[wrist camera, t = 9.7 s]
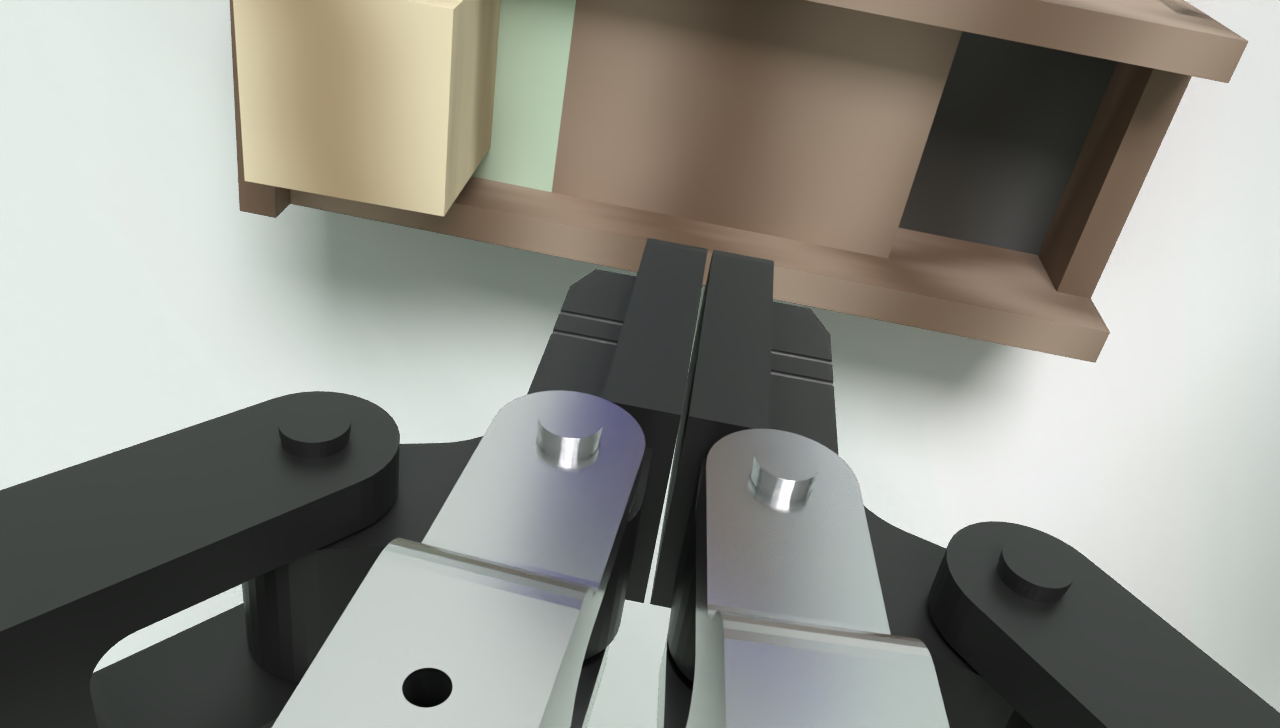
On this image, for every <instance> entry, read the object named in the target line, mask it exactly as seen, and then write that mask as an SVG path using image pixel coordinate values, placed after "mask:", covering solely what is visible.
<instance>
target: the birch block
mask: <svg viewBox="0 0 1280 728" xmlns="http://www.w3.org/2000/svg"><path fill="white" fill-rule="evenodd" d="M500 6H501V0H233V9H234V24H235V39H236V55H237V70H238V86H239V101H240V116H241V132H242V147H243V163H244V178H245V181H248V182H254V183H259V184H265V185H270V186H276V187H282V188H287V189H293V190H298V191H304V192H309V193H315V194H321V195H326V196H332V197H337V198H343V199H349V200H354V201H360V202H365V203H371V204H377V205H382V206H388V207H393V208H399V209H404V210H410V211H416V212H421V213H427V214H432V215H438V216H445V214H446V213H447V211H448V210H449V208H450V207H451V205H452V204H453V202H454V201H455V199H456V198H457V196H458V195H459V193H460V192H461V190H462V189H463V188H464V186H465V185H466V183H467V182H468V180H469V179H470V177H471V176H472V174H473V173H474V171H475V170H476V168H477V167H478V165H479V164H480V162H481V161H482V159H483V158H484V157H485V155H486V154H487V152H488V151H489V149H490V148H491V135H492V121H493V107H494V92H495V78H496V64H497V49H498V35H499V21H500Z"/></svg>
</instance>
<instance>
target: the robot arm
mask: <svg viewBox="0 0 1280 728" xmlns="http://www.w3.org/2000/svg"><path fill="white" fill-rule="evenodd" d="M707 251H708V249H707V248H701V247H696V246H690V245H685V244H679V243H674V242H669V241H663V240H658V239H652V238H647V241H646V245H645V248H644V252H643V255H642V259H641V263H640V266H639V270H638V273H637V277H634V276H629V275H623V274H618V273H613V272H607V271H602V270H595V271H593V272H592V273H590V274H589V275H587V276H585V277H584V278H582V279H581V280H579V281H578V282H576V283H575V284H573V285H572V286H570V289H569V291H568V294H567V296H566V299H565V301H564V304H563V306H562V309H561V314H559V316H558V319H557V321H556V324H555V326H554V329H553V334H551V336H550V339H549V341H548V344H547V346H546V349H545V351H544V354H543V356H542V359H541V361H540V364H539V366H538V369H537V371H536V374H535V376H534V379H533V381H532V384H531V386H530V389H529V391H528V394H527V395H525V396H522V397H520V398H517V399H515V400H513V401H511V402H510V403H508V404H506V405H505V406H504V407H503V408H502V409H501V410H500V411H499V412H498V413H497V415H496V416H495V417H494V419H493V421H492V422H491V424H490V426H489V428H488V429H487V431H486V433H485V435H484V436H482V437H478V438H474V439H471V440H465V441H459V442H451V443H427V444H400V434H399V430H398V426H397V425H396V423H395V421H394V420H393V418H392V417H391V416H390V415H389V414H388V413H387V412H386V411H385V410H383V409H382V408H381V407H379V406H378V405H376V404H374V403H372V402H370V401H368V400H365V399H362V398H360V397H357V396H353V395H348V394H344V393H336V392H319V391H314V392H301V393H295V394H289V395H285V396H281V397H278V398H274V399H271V400H268V401H265V402H262V403H259V404H256V405H253V406H250V407H247V408H244V409H241V410H238V411H235V412H232V413H229V414H227V415H224V416H221V417H218V418H215V419H212V420H209V421H206V422H203V423H200V424H197V425H194V426H191V427H188V428H185V429H182V430H179V431H176V432H173V433H170V434H167V435H164V436H161V437H158V438H155V439H152V440H149V441H146V442H143V443H140V444H137V445H134V446H131V447H128V448H125V449H122V450H119V451H116V452H113V453H110V454H107V455H105V456H102V457H99V458H96V459H93V460H90V461H87V462H84V463H81V464H78V465H75V466H72V467H69V468H66V469H63V470H60V471H57V472H54V473H51V474H48V475H45V476H42V477H39V478H36V479H33V480H30V481H27V482H24V483H21V484H18V485H15V486H12V487H9V488H6V489H3V490H0V728H587V725H588V721H589V718H590V715H591V711H592V708H593V705H594V701H595V698H596V695H597V691H598V688H599V685H600V681H601V678H602V675H603V672H604V668H605V665H606V659H607V654H608V648H609V644H610V643H611V642H612V640H613V639H614V637H615V636H616V634H617V632H618V629H619V626H620V622H621V617H622V612H623V606H624V601H625V599H626V600H631V601H636V602H641V603H644V599H645V594H646V589H647V584H648V579H649V574H650V569H651V564H652V559H653V554H654V549H655V544H656V539H657V534H658V529H659V524H660V519H661V514H662V509H663V504H664V499H665V494H666V489H667V484H668V479H669V474H670V469H671V464H672V459H673V454H674V459H673V465H672V472H671V478H670V484H669V490H668V497H667V503H666V509H665V515H664V521H663V528H662V534H661V540H660V546H659V553H658V559H657V565H656V571H655V577H654V584H653V590H652V596H651V602H650V604H653V605H658V606H663V607H668V608H671V615H670V622H669V629H668V635H667V639H666V644H665V648H664V653H663V657H662V662H661V666H660V672H659V688H658V712H657V728H1280V713H1279V712H1278V711H1276V710H1275V709H1274V708H1273V707H1272V706H1270V705H1269V704H1268V703H1267V702H1265V701H1264V700H1263V699H1262V698H1260V697H1259V696H1258V695H1257V694H1255V693H1254V692H1253V691H1252V690H1250V689H1249V688H1248V687H1247V686H1245V685H1244V684H1243V683H1242V682H1240V681H1239V680H1238V679H1237V678H1235V677H1234V676H1233V675H1232V674H1231V673H1229V672H1228V671H1227V670H1226V669H1224V668H1223V667H1222V666H1221V665H1219V664H1218V663H1217V662H1216V661H1214V660H1213V659H1212V658H1211V657H1209V656H1208V655H1207V654H1206V653H1204V652H1203V651H1202V650H1201V649H1199V648H1198V647H1197V646H1196V645H1194V644H1193V643H1192V642H1191V641H1189V640H1188V639H1187V638H1186V637H1185V636H1183V635H1182V634H1181V633H1180V632H1178V631H1177V630H1176V629H1175V628H1173V627H1172V626H1171V625H1170V624H1168V623H1167V622H1166V621H1165V620H1163V619H1162V618H1161V617H1160V616H1158V615H1157V614H1156V613H1155V612H1153V611H1152V610H1151V609H1150V608H1148V607H1147V606H1146V605H1145V604H1144V603H1142V602H1141V601H1140V600H1139V599H1137V598H1136V597H1135V596H1134V595H1132V594H1131V593H1130V592H1129V591H1127V590H1126V589H1125V588H1124V587H1122V586H1121V585H1120V584H1119V583H1117V582H1116V581H1115V580H1114V579H1112V578H1111V577H1110V576H1109V575H1107V574H1106V573H1105V572H1104V571H1103V570H1101V569H1100V568H1099V567H1098V566H1096V565H1095V564H1094V563H1093V562H1091V561H1090V560H1089V559H1088V558H1086V557H1085V556H1084V555H1082V554H1081V553H1080V552H1078V551H1077V550H1076V549H1074V548H1073V547H1071V546H1070V545H1068V544H1066V543H1064V542H1063V541H1061V540H1059V539H1057V538H1055V537H1053V536H1051V535H1049V534H1047V533H1044V532H1042V531H1039V530H1036V529H1033V528H1030V527H1027V526H1023V525H1019V524H1014V523H1007V522H992V521H991V522H981V523H976V524H972V525H969V526H967V527H965V528H963V529H961V530H959V531H958V532H957V533H956V534H955V535H954V536H953V537H952V539H951V540H950V542H949V544H948V546H947V549H946V548H943V547H941V546H939V545H936V544H934V543H931V542H929V541H927V540H924V539H922V538H919V537H917V536H915V535H912V534H910V533H907V532H905V531H903V530H901V529H899V528H897V527H895V526H892V525H891V524H889V523H887V522H886V521H884V520H882V519H881V518H879V517H878V516H876V515H875V514H874V513H872V512H871V511H869V510H868V509H867V508H866V507H865V506H864V505H863V501H862V496H861V491H860V486H859V483H858V480H857V478H856V476H855V474H854V473H853V471H852V469H851V468H850V467H849V466H848V465H847V463H846V462H845V461H844V460H843V459H842V458H840V457H839V456H838V443H837V429H836V414H835V400H834V387H833V386H832V384H833V371H832V365H831V361H832V356H831V342H830V334H829V333H828V331H827V330H826V329H825V327H824V326H823V325H822V323H821V322H820V321H819V319H818V318H817V317H816V315H815V314H814V313H813V311H812V310H811V309H808V308H802V307H797V306H791V305H786V304H781V303H775V302H773V278H774V261H773V260H767V259H762V258H756V257H751V256H745V255H740V254H735V253H729V252H724V251H718V250H713V252H712V257H711V261H710V266H709V271H708V276H707V281H706V286H705V291H704V296H703V301H702V306H701V311H700V316H699V321H698V326H697V331H696V336H695V341H694V346H693V351H692V345H693V339H694V332H695V326H696V320H697V314H698V307H699V301H700V295H701V289H702V282H703V276H704V270H705V264H706V257H707ZM691 351H692V356H691ZM690 357H691V361H690ZM689 364H690V366H689ZM688 370H689V371H688ZM687 376H688V377H687ZM676 439H677V440H676ZM675 444H676V447H675ZM674 449H675V453H674ZM240 584H242V589H243V601H244V603H243V604H241V605H238V606H236V607H234V608H232V609H230V610H228V611H225V612H223V613H221V614H219V615H217V616H215V617H213V618H210V619H208V620H206V621H204V622H202V623H200V624H198V625H195V626H193V627H191V628H189V629H187V630H185V631H182V632H180V633H178V634H176V635H174V636H172V637H170V638H167V639H165V640H163V641H161V642H159V643H157V644H154V645H152V646H150V647H148V648H146V649H144V650H142V651H139V652H137V653H135V654H133V655H131V656H129V657H127V658H124V659H122V660H120V661H118V662H116V663H114V664H111V665H109V666H107V667H105V668H103V669H101V670H99V671H96V672H94V673H93V671H94V669H95V667H96V665H97V664H98V662H99V661H100V659H101V658H102V657H103V656H104V654H105V653H106V652H107V651H108V650H109V649H110V648H111V647H113V646H114V645H115V644H116V643H118V642H119V641H120V640H122V639H123V638H125V637H127V636H128V635H130V634H132V633H134V632H136V631H138V630H140V629H142V628H145V627H147V626H149V625H151V624H154V623H156V622H158V621H160V620H162V619H165V618H167V617H169V616H171V615H173V614H176V613H178V612H180V611H182V610H185V609H187V608H189V607H191V606H193V605H196V604H198V603H200V602H202V601H204V600H207V599H209V598H211V597H213V596H216V595H218V594H220V593H222V592H224V591H227V590H229V589H231V588H233V587H236V586H238V585H240Z"/></svg>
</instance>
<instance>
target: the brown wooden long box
mask: <svg viewBox="0 0 1280 728" xmlns="http://www.w3.org/2000/svg"><path fill="white" fill-rule="evenodd" d="M230 15H231V36H232V57H233V78H234V99H235V120H236V140H237V161H238V182H239V203H240V211H244V212H249V213H254V214H259V215H264V216H269V217H274V218H276V217H277V216H278V215H279V214H280V213H281V212H282V211H283V210H284V209H285V208H286V207H287V206H288V205H289V204H295V205H300V206H305V207H310V208H315V209H320V210H325V211H330V212H335V213H340V214H345V215H350V216H356V217H361V218H366V219H371V220H376V221H381V222H386V223H391V224H396V225H401V226H406V227H411V228H416V229H421V230H426V231H431V232H437V233H442V234H447V235H452V236H457V237H462V238H467V239H472V240H477V241H482V242H487V243H492V244H497V245H502V246H507V247H512V248H518V249H523V250H528V251H533V252H538V253H543V254H548V255H553V256H558V257H563V258H568V259H573V260H578V261H583V262H588V263H593V264H599V265H604V266H609V267H614V268H619V269H624V270H629V271H634V272H638V270H639V266H640V263H641V259H642V255H643V252H644V248H645V245H646V241H647V238H652V239H658V240H663V241H669V242H674V243H679V244H685V245H690V246H696V247H701V248H707V249H708V251H707V257H706V264H705V270H704V276H703V282H702V285H705V286H706V281H707V276H708V271H709V266H710V261H711V257H712V252H713V250H718V251H724V252H729V253H735V254H740V255H745V256H751V257H756V258H762V259H767V260H773V261H774V278H773V299H776V300H781V301H786V302H791V303H796V304H801V305H806V306H811V307H816V308H821V309H826V310H831V311H836V312H842V313H847V314H852V315H857V316H862V317H867V318H872V319H877V320H882V321H887V322H892V323H897V324H902V325H907V326H912V327H917V328H923V329H928V330H933V331H938V332H943V333H948V334H953V335H958V336H963V337H968V338H973V339H978V340H983V341H988V342H993V343H998V344H1004V345H1009V346H1014V347H1019V348H1024V349H1029V350H1034V351H1039V352H1044V353H1049V354H1054V355H1059V356H1064V357H1069V358H1074V359H1079V360H1085V361H1090V362H1096V360H1097V358H1098V356H1099V354H1100V352H1101V350H1102V348H1103V346H1104V343H1105V341H1106V339H1107V337H1108V335H1109V333H1110V332H1109V330H1108V328H1107V326H1106V325H1105V323H1104V321H1103V319H1102V318H1101V316H1100V314H1099V312H1098V311H1097V309H1096V307H1095V305H1094V304H1093V302H1092V300H1091V296H1092V294H1093V292H1094V290H1095V288H1096V285H1097V283H1098V281H1099V279H1100V277H1101V274H1102V272H1103V270H1104V268H1105V266H1106V263H1107V261H1108V259H1109V257H1110V255H1111V252H1112V250H1113V248H1114V246H1115V244H1116V241H1117V239H1118V237H1119V235H1120V233H1121V230H1122V228H1123V226H1124V224H1125V222H1126V219H1127V217H1128V215H1129V213H1130V211H1131V208H1132V206H1133V204H1134V202H1135V200H1136V197H1137V195H1138V193H1139V191H1140V189H1141V186H1142V184H1143V182H1144V180H1145V178H1146V175H1147V173H1148V171H1149V169H1150V167H1151V164H1152V162H1153V160H1154V158H1155V156H1156V153H1157V151H1158V149H1159V147H1160V145H1161V142H1162V140H1163V138H1164V136H1165V134H1166V131H1167V129H1168V127H1169V125H1170V123H1171V120H1172V118H1173V116H1174V114H1175V112H1176V109H1177V107H1178V105H1179V103H1180V101H1181V98H1182V96H1183V94H1184V92H1185V90H1186V88H1187V85H1188V83H1189V81H1190V79H1191V77H1192V76H1194V77H1199V78H1205V79H1210V80H1215V81H1220V82H1225V83H1229V81H1230V79H1231V77H1232V75H1233V72H1234V70H1235V68H1236V66H1237V64H1238V62H1239V60H1240V58H1241V56H1242V54H1243V51H1244V49H1245V47H1246V45H1247V43H1248V41H1247V40H1246V39H1244V38H1242V37H1241V36H1239V35H1238V34H1236V33H1235V32H1233V31H1231V30H1230V29H1228V28H1227V27H1225V26H1224V25H1222V24H1220V23H1219V22H1217V21H1216V20H1214V19H1213V18H1211V17H1209V16H1208V15H1206V14H1205V13H1203V12H1202V11H1200V10H1198V9H1197V8H1195V7H1194V6H1192V5H1191V4H1189V3H1187V2H1186V1H1184V0H501V6H500V21H499V35H498V49H497V64H496V78H495V92H494V107H493V121H492V135H491V148H490V149H489V151H488V152H487V154H486V155H485V157H484V158H483V159H482V161H481V162H480V164H479V165H478V167H477V168H476V170H475V171H474V173H473V174H472V176H471V177H470V179H469V180H468V182H467V183H466V185H465V186H464V188H463V189H462V190H461V192H460V193H459V195H458V196H457V198H456V199H455V201H454V202H453V204H452V205H451V207H450V208H449V210H448V211H447V213H446V214H445V216H438V215H432V214H427V213H421V212H416V211H410V210H404V209H399V208H393V207H388V206H382V205H377V204H371V203H365V202H360V201H354V200H349V199H343V198H337V197H332V196H326V195H321V194H315V193H309V192H304V191H298V190H293V189H287V188H282V187H276V186H270V185H265V184H259V183H254V182H248V181H245V178H244V163H243V147H242V132H241V116H240V101H239V86H238V70H237V55H236V39H235V24H234V9H233V0H230Z"/></svg>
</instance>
